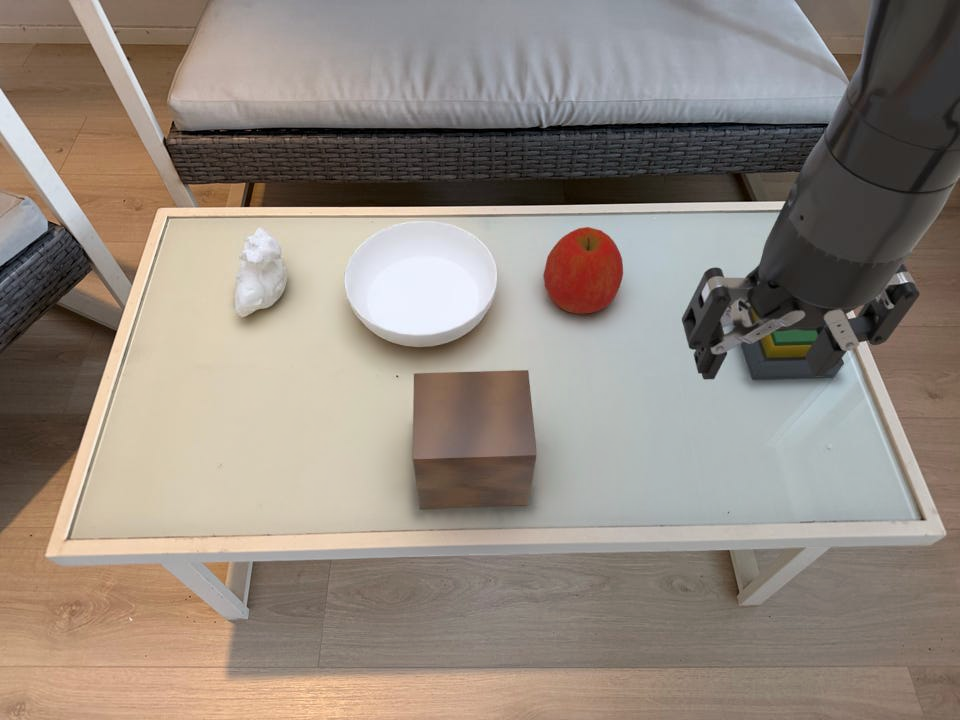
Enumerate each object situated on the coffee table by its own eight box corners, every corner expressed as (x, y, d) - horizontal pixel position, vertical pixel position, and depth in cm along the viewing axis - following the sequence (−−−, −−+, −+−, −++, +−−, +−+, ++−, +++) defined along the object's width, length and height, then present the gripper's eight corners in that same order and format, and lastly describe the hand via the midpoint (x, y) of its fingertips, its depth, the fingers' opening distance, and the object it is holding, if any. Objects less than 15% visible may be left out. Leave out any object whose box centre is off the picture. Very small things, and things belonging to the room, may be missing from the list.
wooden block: (521, 426, 83) (528, 369, 73) (528, 505, 77) (536, 455, 67) (420, 429, 83) (413, 373, 73) (419, 509, 77) (412, 459, 67)
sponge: (809, 357, 89) (820, 340, 86) (766, 358, 88) (776, 342, 86) (790, 308, 93) (800, 291, 90) (750, 309, 93) (759, 292, 90)
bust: (260, 337, 93) (298, 298, 85) (204, 312, 89) (239, 269, 82) (281, 270, 100) (318, 228, 92) (231, 245, 96) (265, 198, 88)
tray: (833, 377, 88) (844, 363, 85) (752, 379, 87) (760, 365, 85) (801, 295, 95) (810, 280, 93) (726, 297, 95) (733, 282, 92)
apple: (601, 259, 99) (614, 203, 90) (628, 314, 93) (645, 260, 84) (532, 272, 97) (538, 216, 88) (555, 329, 91) (564, 275, 83)
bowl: (510, 352, 89) (512, 323, 84) (357, 375, 87) (350, 346, 82) (481, 244, 100) (482, 212, 95) (345, 261, 98) (338, 229, 93)
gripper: (751, 262, 38) (678, 413, 52) (1002, 257, 39) (866, 407, 52) (718, 172, 43) (659, 332, 56) (945, 168, 43) (833, 328, 56)
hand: (759, 368), depth 54 cm, fingers open, 8 cm apart
